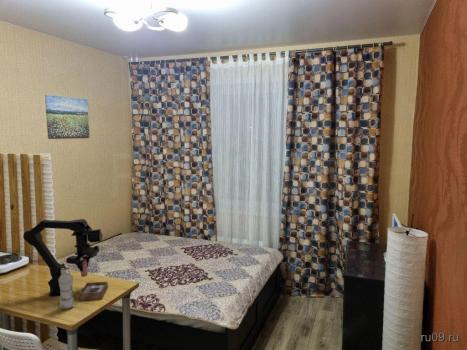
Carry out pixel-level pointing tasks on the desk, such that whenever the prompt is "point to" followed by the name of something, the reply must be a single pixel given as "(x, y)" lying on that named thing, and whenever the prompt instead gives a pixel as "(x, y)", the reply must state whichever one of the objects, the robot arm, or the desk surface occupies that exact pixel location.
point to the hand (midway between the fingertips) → (83, 270)
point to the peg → (84, 269)
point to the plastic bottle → (66, 289)
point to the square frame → (93, 291)
